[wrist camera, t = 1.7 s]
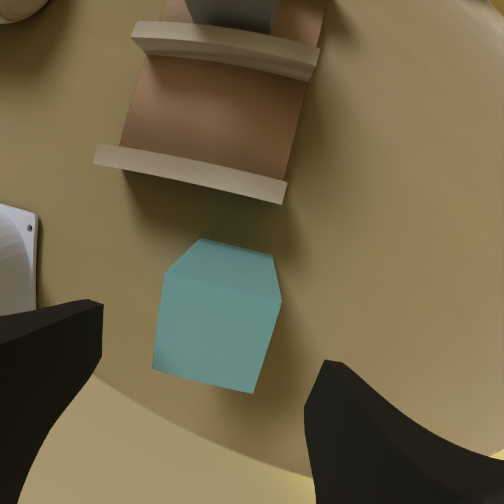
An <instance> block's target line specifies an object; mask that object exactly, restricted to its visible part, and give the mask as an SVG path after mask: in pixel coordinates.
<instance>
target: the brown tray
mask: <svg viewBox="0 0 504 504" xmlns="http://www.w3.org/2000/svg"><path fill="white" fill-rule="evenodd" d="M326 4H327V0H282V2H281V5H280V8H279V11H278V15H277V18H276V21H275V24H274V28H273V31H272V34H271V36H270V35H266V34H261V33H256V32H250V31H245V30H239V29H232V28H226V27H218V26H210V25H202V24H194V22H193V20H192V17H191V15H190V13H189V10H188V8H187V5H186V3H185V1H184V0H168V2H167V5H166V7H165V9H164V11H163V14H162V16H161V18H160V21H137V23H136V25H135V28H134V30H133V32H132V35H131V38H132V39H133V40H134V41H135V43H136V44H137V45H138V46H139V47H140V48H141V49H142V50H143V51H144V52H145V53H146V57H145V60H144V63H143V66H142V69H141V71H140V74H139V78H138V81H137V84H136V87H135V90H134V93H133V97H132V100H131V103H130V107H129V110H128V114H127V118H126V121H125V125H124V129H123V133H122V137H121V141H120V145H119V146H114V145H107V144H100V143H97V148H96V152H95V157H94V161H93V164H98V165H103V166H109V167H114V168H120V169H125V170H130V171H135V172H140V173H145V174H150V175H155V176H160V177H165V178H170V179H174V180H179V181H184V182H188V183H193V184H197V185H202V186H206V187H211V188H215V189H219V190H224V191H228V192H232V193H236V194H240V195H244V196H249V197H253V198H257V199H261V200H265V201H269V202H272V203H276V204H280V205H282V202H283V198H284V194H285V190H286V186H287V182H285V181H283V179H284V176H285V172H286V168H287V164H288V160H289V156H290V152H291V148H292V144H293V140H294V136H295V132H296V128H297V124H298V120H299V116H300V112H301V108H302V104H303V100H304V96H305V92H306V88H307V84H308V81H309V79H310V77H311V75H312V73H313V71H314V69H315V68H316V65H317V61H318V57H319V53H320V49H321V48H318V47H317V42H318V38H319V34H320V30H321V26H322V21H323V17H324V13H325V9H326Z"/></svg>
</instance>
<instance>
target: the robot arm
mask: <svg viewBox="0 0 504 504" xmlns="http://www.w3.org/2000/svg"><path fill="white" fill-rule="evenodd" d="M31 226H32V230H31ZM37 233H38V216H37V215H36V214H35V213H33V212H29V211H26V210H22V209H18V208H15V207H11V206H8V205H4V204H1V203H0V504H17V502H18V499H19V496H20V493H21V491H22V488H23V485H24V483H25V480H26V478H27V475H28V473H29V470H30V468H31V466H32V464H33V462H34V460H35V458H36V455H37V453H38V451H39V449H40V447H41V446H42V444H43V442H44V440H45V438H46V437H47V435H48V433H49V431H50V429H51V428H52V426H53V425H54V423H55V422H56V420H57V419H58V418H59V417H60V415H61V414H62V413H63V412H64V410H65V409H66V408H67V406H68V405H69V404H70V403H71V401H72V400H73V399H74V397H75V396H76V395H77V394H78V392H79V391H80V390H81V388H82V387H83V386H84V385H85V383H86V382H87V381H88V379H89V378H90V376H91V375H92V373H93V371H94V370H95V368H96V366H97V364H98V363H99V361H100V359H101V357H102V330H103V309H104V304H101V303H98V302H95V301H92V300H89V299H84V300H77V301H72V302H68V303H63V304H59V305H55V306H50V307H46V308H42V309H37V310H36V250H37ZM304 427H305V437H306V443H307V448H308V454H309V459H310V464H311V470H312V475H313V480H314V486H315V494H316V504H504V460H499V459H495V458H491V457H488V456H484V455H481V454H478V453H475V452H472V451H470V450H467V449H465V448H462V447H460V446H458V445H455V444H453V443H451V442H449V441H447V440H445V439H443V438H441V437H439V436H437V435H435V434H434V433H432V432H430V431H429V430H427V429H425V428H424V427H422V426H421V425H419V424H417V423H416V422H414V421H413V420H411V419H410V418H409V417H407V416H406V415H404V414H403V413H402V412H401V411H399V410H398V409H397V408H395V407H394V406H393V405H392V404H390V403H389V402H388V401H387V400H386V399H384V398H383V397H382V396H381V395H380V394H379V393H377V392H376V391H375V390H374V389H373V388H372V387H371V386H369V385H368V384H367V383H366V382H365V381H364V380H363V379H362V378H361V377H359V376H358V375H357V374H356V373H355V372H354V371H353V370H351V369H350V368H349V367H348V366H346V365H345V364H344V363H342V362H336V361H330V360H324V362H323V365H322V367H321V369H320V372H319V374H318V377H317V379H316V381H315V383H314V386H313V388H312V390H311V393H310V395H309V397H308V399H307V401H306V404H305V406H304Z"/></svg>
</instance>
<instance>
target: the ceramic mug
mask: <svg viewBox="0 0 504 504" xmlns="http://www.w3.org/2000/svg"><path fill="white" fill-rule="evenodd" d="M47 2H48V0H0V24H8V23H13V22H17V21H20V20H24V19H26V18H28V17H30V16H32V15H33V14H35V13H36V12H37V11H39V10H40V9H41V8H42V7H43V6H44V5H45V4H46V3H47Z"/></svg>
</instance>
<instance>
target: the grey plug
mask: <svg viewBox="0 0 504 504" xmlns="http://www.w3.org/2000/svg"><path fill="white" fill-rule="evenodd" d="M184 1H185V3H186V5H187V8H188V10H189V13H190V15H191V17H192V20H193V22H194V24H202V25H210V26H218V27H226V28H232V29H239V30H245V31H250V32H256V33H261V34H266V35H270V36H271V34H272V31H273V28H274V24H275V21H276V18H277V15H278V11H279V8H280V5H281V2H282V0H184Z"/></svg>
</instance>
